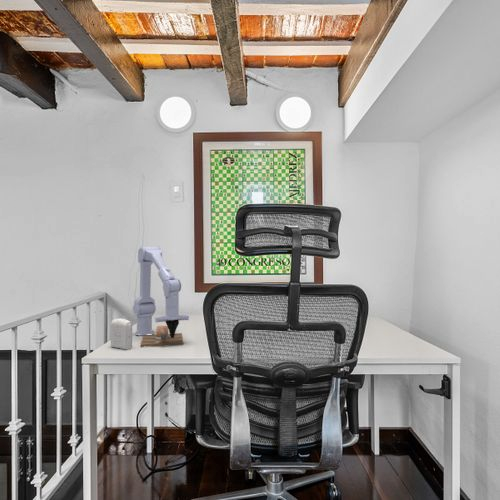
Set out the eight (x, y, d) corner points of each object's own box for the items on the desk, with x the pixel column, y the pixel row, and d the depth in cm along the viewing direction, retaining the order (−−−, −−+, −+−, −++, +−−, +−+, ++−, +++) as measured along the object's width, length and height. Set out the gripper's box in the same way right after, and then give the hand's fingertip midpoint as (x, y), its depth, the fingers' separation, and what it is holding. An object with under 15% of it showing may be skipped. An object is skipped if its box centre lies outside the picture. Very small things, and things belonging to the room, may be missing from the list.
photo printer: (134, 347, 165) (133, 319, 165) (126, 350, 161) (126, 320, 161) (117, 345, 170) (116, 316, 170) (109, 347, 166) (109, 318, 166)
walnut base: (143, 337, 184) (143, 332, 184) (181, 335, 187) (181, 331, 187) (140, 347, 166) (140, 342, 166) (183, 344, 169) (183, 339, 169)
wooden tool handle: (156, 334, 178) (156, 326, 178) (167, 333, 180) (167, 325, 180) (157, 341, 165) (157, 332, 165) (169, 340, 166) (169, 331, 166)
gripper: (156, 309, 164) (156, 340, 164) (190, 307, 170) (190, 337, 170) (154, 306, 171) (154, 337, 171) (186, 304, 176) (187, 334, 176)
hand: (172, 337), depth 171 cm, fingers closed
